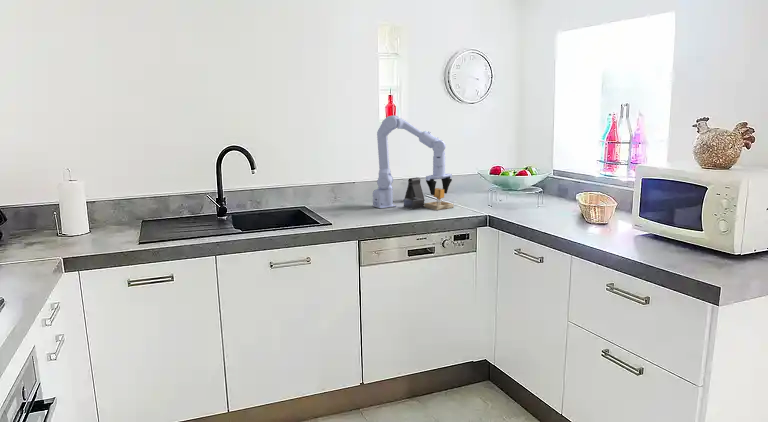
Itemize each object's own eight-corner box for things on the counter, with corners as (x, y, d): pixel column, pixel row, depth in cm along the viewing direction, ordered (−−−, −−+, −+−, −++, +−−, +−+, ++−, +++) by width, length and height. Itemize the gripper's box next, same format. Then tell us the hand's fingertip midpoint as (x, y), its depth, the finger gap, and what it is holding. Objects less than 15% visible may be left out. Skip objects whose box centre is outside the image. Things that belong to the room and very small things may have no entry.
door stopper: (404, 200, 296) (403, 177, 294) (412, 199, 300) (411, 176, 298) (416, 202, 290) (416, 179, 288) (424, 201, 294) (424, 178, 292)
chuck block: (412, 209, 274) (412, 200, 273) (403, 207, 279) (403, 198, 278) (424, 207, 277) (424, 199, 277) (415, 205, 283) (415, 197, 282)
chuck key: (433, 205, 278) (433, 188, 276) (437, 205, 279) (437, 188, 278) (440, 207, 274) (440, 189, 272) (444, 206, 275) (444, 189, 274)
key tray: (437, 210, 270) (437, 206, 270) (424, 207, 278) (424, 203, 278) (453, 207, 275) (453, 203, 275) (440, 204, 284) (440, 200, 283)
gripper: (432, 167, 266) (432, 196, 268) (456, 165, 274) (455, 193, 276) (423, 166, 271) (423, 194, 274) (446, 164, 279) (446, 191, 282)
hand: (438, 194), depth 275 cm, fingers open, 7 cm apart
